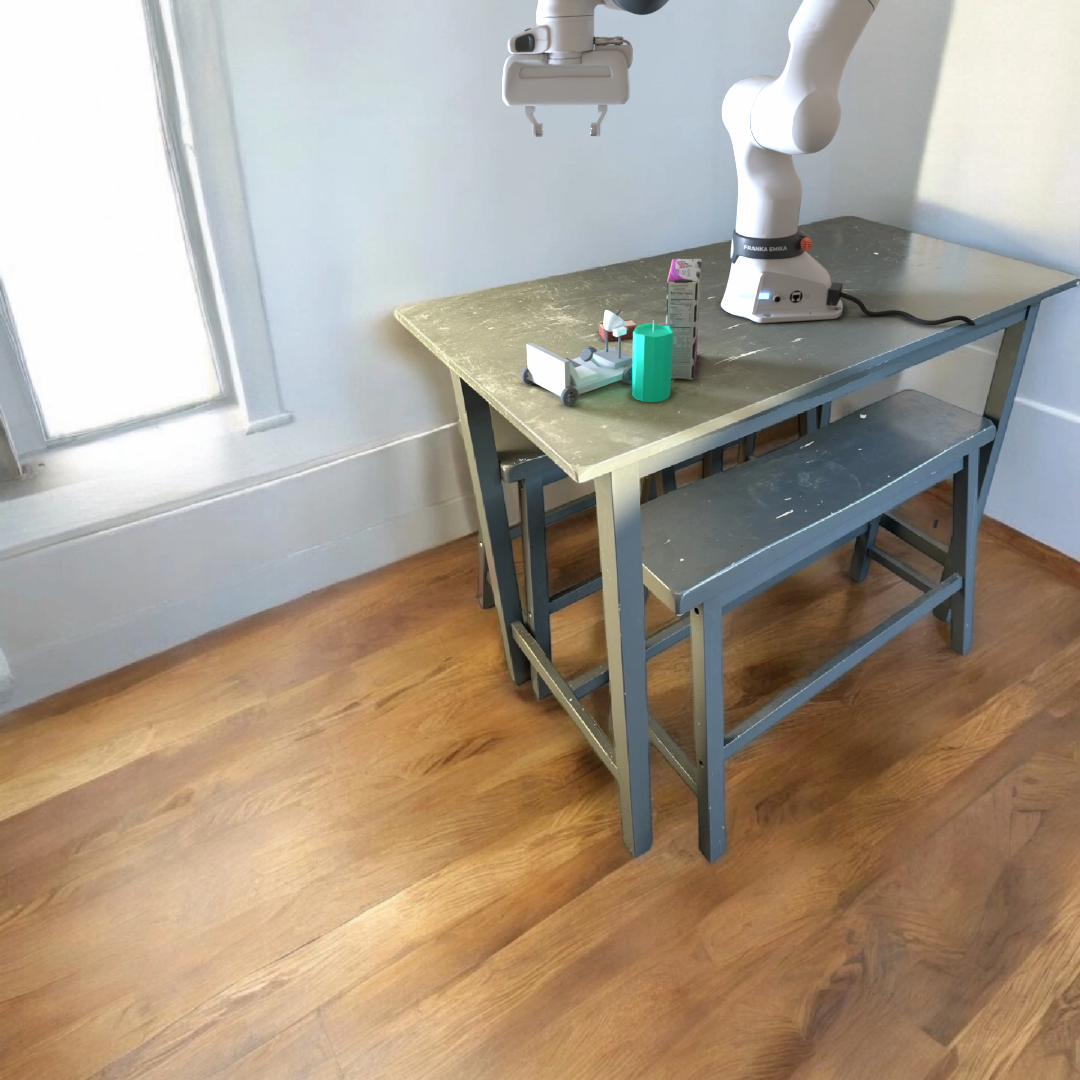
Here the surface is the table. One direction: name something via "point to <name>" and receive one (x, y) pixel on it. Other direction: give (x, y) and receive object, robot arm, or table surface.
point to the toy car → (580, 366)
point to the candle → (652, 362)
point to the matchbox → (631, 327)
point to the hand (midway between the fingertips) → (566, 136)
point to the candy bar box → (683, 315)
